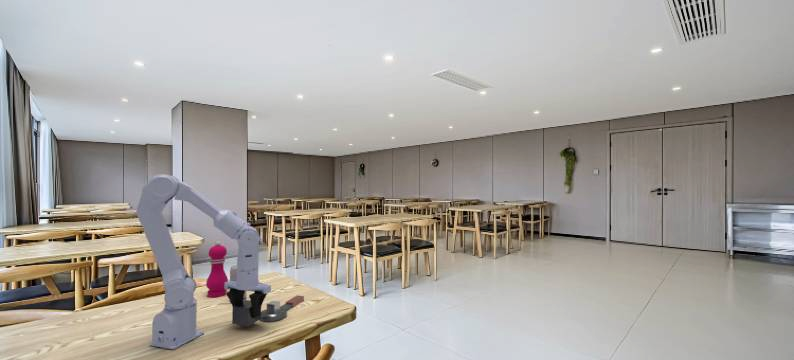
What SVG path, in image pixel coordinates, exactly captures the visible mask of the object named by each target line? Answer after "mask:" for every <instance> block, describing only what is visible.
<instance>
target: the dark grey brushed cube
mask: <svg viewBox="0 0 794 360" xmlns="http://www.w3.org/2000/svg"><path fill="white" fill-rule="evenodd" d="M261 311H262V308H261V309H260V313H259V316H258V317H256V318H252V306H251V301H250V299H249V300H248V299H246V300H245V301H243V302H241V303H239V304H236V305H234V306H232V315H231V317H232V318H231V319H232V322H231V323H232V325H237V326H238V325H239V326H245V327H250V326H252V325H253V324H255V323H256V322H258V321H260V319H261Z"/></svg>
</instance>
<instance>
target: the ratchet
mask: <svg viewBox="0 0 794 360" xmlns="http://www.w3.org/2000/svg"><path fill="white" fill-rule="evenodd" d="M304 301H305V295H294V296H293V297H291V298H290V299H288V300H287V301H285V303H284V304H282V305H281V301H279V300H271V301H269V302H267V303H266V309H263V310H261V319H260V320H259V321H261V322H263V323H269V324H270V323H277V322H280V321H283V320H285V319H286V318H287V315H288V311H289V310H291V309H292V308H295V307H297V306H299V305H300V304H301V303H303V302H304Z"/></svg>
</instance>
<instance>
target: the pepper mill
mask: <svg viewBox="0 0 794 360" xmlns="http://www.w3.org/2000/svg"><path fill="white" fill-rule="evenodd" d="M214 244H215V245H213V246H211V247H210V248H209V249H208V252H207V253H208V256H209V257H210V259H209V264H210V265H211V266H210V272H209V275H208V276H207V279H206V283H205V285H206V288H207V289H208V291H207V295H206V296H207V297H209V298H220V297H223V296H225V295H227V292H228V289H224V286H225V282H228V281H229V279H228V275H227V274H226V272H225V267H224V263H225V262H226V257H225V256H226V255H227V248H226V247H225V246H224V245H222V244H221V241H219V240H217V241H216V242H215V243H214Z"/></svg>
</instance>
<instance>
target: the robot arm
mask: <svg viewBox="0 0 794 360" xmlns="http://www.w3.org/2000/svg"><path fill="white" fill-rule="evenodd" d="M172 199H173V200H176V201H181V202H182V201H183V202H188V203H189V204H191V205H192V206H194V207H195V208H196V209H198V210H200V212H203V213H204V214H205V215H206V216H208V217H210V218H211V219H212V221H213V227H215V228H216V229H217V230H219V231H220V232H221V233H223V234H224V235H226V236H227V237H228V238H230V239H231V240H235V241H237V244H238V247H237V248H238V250H237V251H238V252H237V255H236V257H237V258H236V265H237V281H230V280H228V282H225V286H224V289H227V290H229V291H227V293H226V297H227V298H228V300H229V302H230V301H231V302H230V304H231V306H232V307H233V306H234V305H236V304H239V303H241V302H243V298H244V293H245V291H246V292H253V293H250V294H249V295H248V298H249V300H250V301H251V306H252V318H256V317H258V316H259V313H260V309H261V310H262V306H263V304H264V300H265V299H266V297H267V295H268V294H269V293H271V292H272V285H270V284H267V283H262V282H260V280H259V261H260V260H259V258H260V256H259V254H260V253H259V244H260V242H261V237H260V234H259V233H258V231H257V229H255V227H254V226H251V223H249V221H248V222H246V221H245V220H243V219H242V218H240V217H239V216H238V212H236V211H234V210H233V211H231V210H230V209H225V210H224V209H223V210H222V209H221V208H219V207H218V206H217V205H216V204H214V203H213V202H212V201H211V200H209V198H207V197H205V196H204V195H203V194H202V193H200V192H199V191H198V190H197V189H196V188H195V187H192V186H191V185H189V184H187V183H186V182H184V181H180V180H179V179H178V178H177V177H176V176H173V175H170V174H164V173H163V174H156V175H154V176H152V177H151V178H149V180H147V182H146V183H145V184H144V185H143V186H142V187H141V195H140V199H139V201H138V204H137V208H136V216H137V218H138V220H139V223H140V225H141V227H142V230H143V232H144V235H145V237H146V240H147V242H148V244H149V247H150V249H151V252H152V254H153V257H154V259H155V261H156V263H157V265H158V269H159V271H160V273H161V275H162V277H161V278H162V285H163V288H164V292H165V293H164V297H163V299H164V302H165V304H164V308H163V309H162V310H161V311H160V312H158V313H157V314H156V315H154V317H153V319H152V325H151V326H152V327H151V328H152V329H151V330H152V331H151V332H152V333H151V335H152V336H151V342H150V343H149V346H151V347H158V348H162V349H168V350H169V349H170V350H175V349H177V348H179V347H181V346H182V345H185V344H187V343H189V342H190V341H192V340H195V339H196V338H198V337H199V336H201V335H203V334H205V331H204V330H197V318H198V317H197V313H198V311H197V310H198V308H197V307H198V305H197V304H198V300H197V299H196V298H195V297H194V296H195V294H194V293H195V292H196V289H197V282H196V280H195V279H194V278H193V277H192V276H191V275H190V274H189V273H188V270H187V269H186V267H185V266H184V265H183V262H182V260H181V258H180V255H179V253H178V250H177V248H176V245H175V243H174V240H173V238H172V236H171V233H170V231H169V228H168V225H167V222H166V220H165V217H164V216H163V211H164V209H165V208H166V207H167V205H168V203H169V202H170V201H171V200H172Z"/></svg>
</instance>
